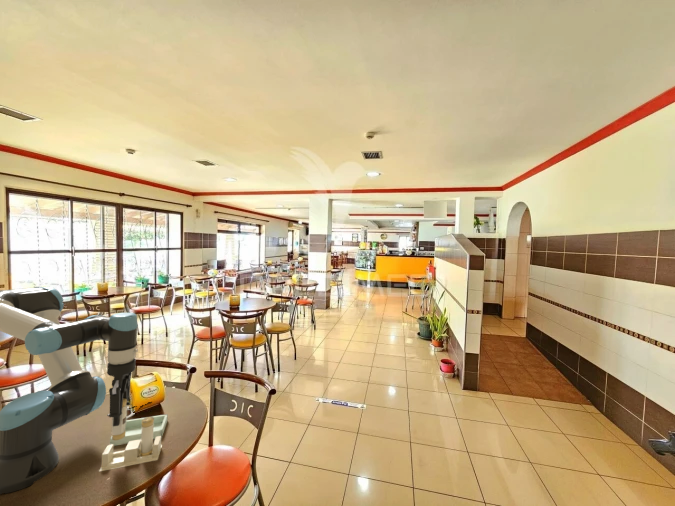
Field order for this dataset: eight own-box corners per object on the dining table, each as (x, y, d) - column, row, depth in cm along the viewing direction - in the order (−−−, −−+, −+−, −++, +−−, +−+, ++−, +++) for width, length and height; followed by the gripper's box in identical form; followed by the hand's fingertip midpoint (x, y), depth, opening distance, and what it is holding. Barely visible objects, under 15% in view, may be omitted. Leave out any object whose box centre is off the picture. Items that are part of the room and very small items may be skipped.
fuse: (139, 459, 96) (140, 423, 95) (142, 452, 99) (143, 417, 99) (151, 456, 97) (152, 421, 97) (153, 449, 100) (154, 416, 100)
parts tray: (109, 448, 101) (110, 438, 101) (120, 430, 111) (120, 421, 111) (161, 439, 107) (162, 430, 107) (167, 422, 117) (167, 414, 117)
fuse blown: (110, 441, 93) (111, 404, 93) (114, 434, 96) (115, 399, 96) (123, 439, 94) (124, 403, 94) (126, 432, 97) (128, 397, 97)
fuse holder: (98, 474, 90) (99, 458, 90) (108, 456, 97) (108, 442, 97) (157, 462, 96) (157, 447, 96) (162, 446, 103) (162, 432, 103)
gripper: (127, 369, 88) (124, 443, 89) (142, 350, 104) (139, 414, 104) (97, 371, 86) (94, 448, 86) (117, 352, 101) (114, 418, 101)
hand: (119, 429), depth 95 cm, fingers closed on fuse blown, 3 cm apart
